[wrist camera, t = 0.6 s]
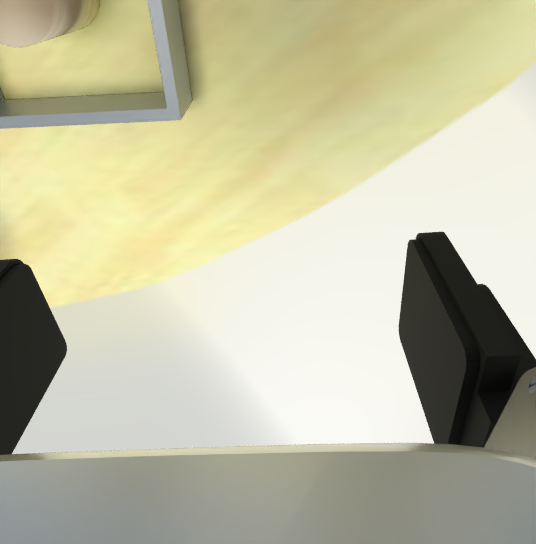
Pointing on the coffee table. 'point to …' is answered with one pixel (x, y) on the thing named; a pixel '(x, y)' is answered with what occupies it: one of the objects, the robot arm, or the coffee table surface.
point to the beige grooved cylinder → (42, 19)
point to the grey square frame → (118, 105)
